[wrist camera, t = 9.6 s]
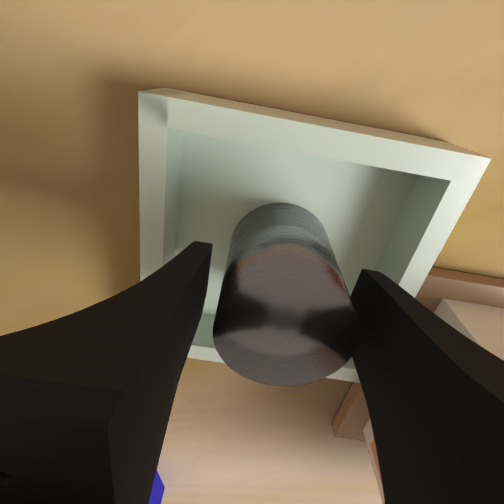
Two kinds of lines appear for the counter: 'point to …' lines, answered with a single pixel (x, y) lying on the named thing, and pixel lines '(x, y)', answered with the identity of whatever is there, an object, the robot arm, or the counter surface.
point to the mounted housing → (452, 312)
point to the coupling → (284, 300)
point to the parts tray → (293, 189)
